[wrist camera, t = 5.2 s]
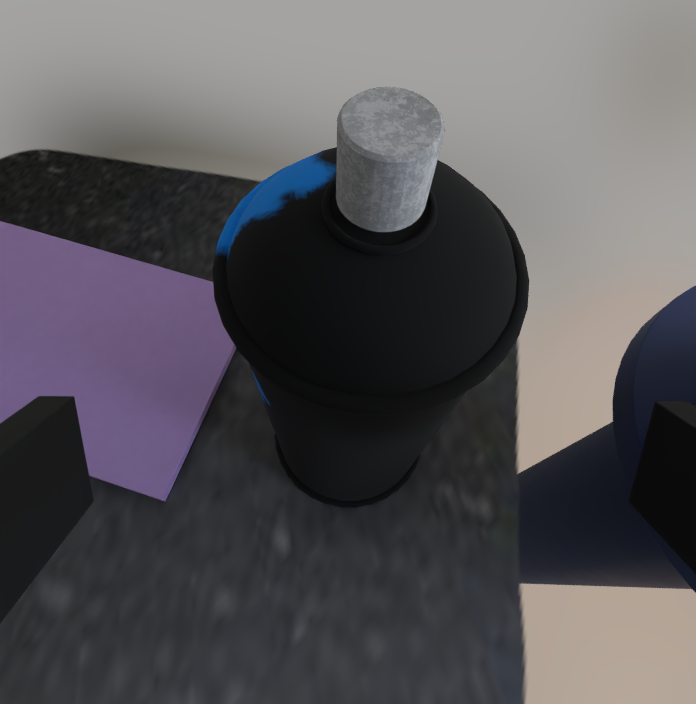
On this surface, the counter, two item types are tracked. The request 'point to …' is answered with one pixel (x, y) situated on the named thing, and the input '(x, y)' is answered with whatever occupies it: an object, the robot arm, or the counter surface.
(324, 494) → the aerosol can
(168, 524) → the counter surface
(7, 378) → the towel
